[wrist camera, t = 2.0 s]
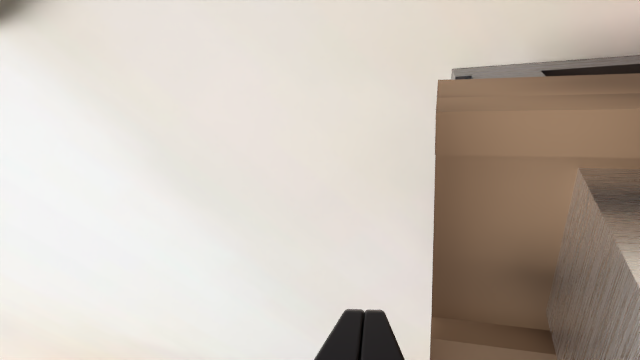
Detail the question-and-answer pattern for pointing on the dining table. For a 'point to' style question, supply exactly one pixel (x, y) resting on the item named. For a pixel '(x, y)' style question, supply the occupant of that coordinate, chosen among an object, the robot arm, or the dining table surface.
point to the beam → (515, 200)
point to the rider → (599, 270)
